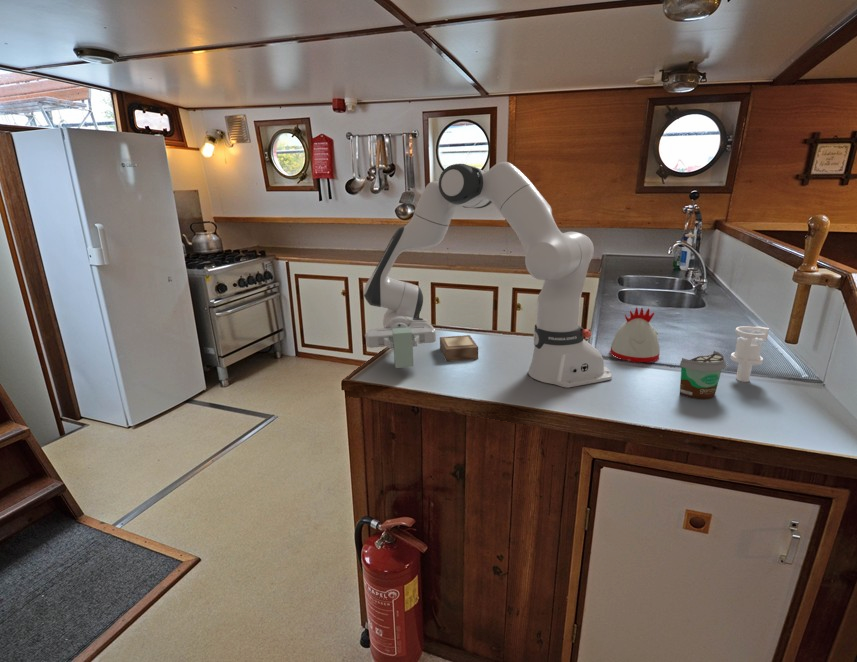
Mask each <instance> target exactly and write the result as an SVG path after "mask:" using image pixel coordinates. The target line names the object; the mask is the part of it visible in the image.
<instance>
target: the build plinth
mask: <svg viewBox="0 0 857 662" xmlns="http://www.w3.org/2000/svg"><path fill="white" fill-rule="evenodd" d="M439 349H441V350H440V352H441V354H442V356H443V359H445V362H457V361H469V360H470V361H471V360H479V346H478V345H477V343H476V341H475V340H474V339H473V338H472V337H471V335H470V334H467V335H452V336H441V337H439Z"/></svg>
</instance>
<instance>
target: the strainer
mask: <svg viewBox="0 0 857 662" xmlns="http://www.w3.org/2000/svg"><path fill="white" fill-rule="evenodd" d="M769 330H770V328H769V327H763V326H760V325H759V326H746V325H745V326H737V327H736V328H735V331H734V332H735V335H737V336H740V337H737V340H736V345H735V349H734V350H735V351H733V352H732V353H731V354H730V360H731V361H733V362H734V363H738V365H737V371H736V376H735V380H737V381H739V382H744V383H747V382H750V379H751V373H752V368H753V366H760V365H762V364H763V361H764V357H762V356H761V355H762V353H761V352H762V348H763V343H767V340H768V336H769V332H770V331H769ZM759 342H760V344H759Z"/></svg>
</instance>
